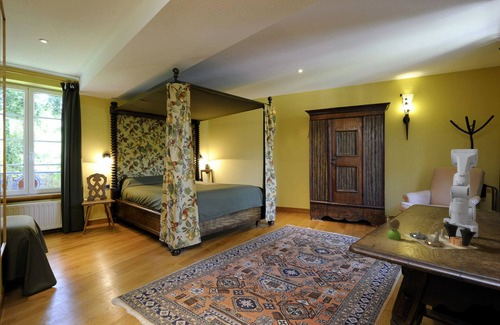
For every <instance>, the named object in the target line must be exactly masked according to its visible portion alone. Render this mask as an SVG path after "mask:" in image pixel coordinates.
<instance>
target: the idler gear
mask: <svg viewBox="0 0 500 325" xmlns="http://www.w3.org/2000/svg"><path fill="white" fill-rule="evenodd" d="M450 243H451V244H453V245H457V246H463V245H462V237H460V236H456V237H450ZM463 247H466V246H463Z"/></svg>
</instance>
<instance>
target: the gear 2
mask: <svg viewBox="0 0 500 325" xmlns="http://www.w3.org/2000/svg"><path fill="white" fill-rule="evenodd" d="M424 243H426V245H430V246H432V247H437V248H439V247H442V248H444V247H445V243H443V242H440V241H438V240H436V243H434V241H432V239H430V240H427V239H426V240H424ZM426 245H425V246H426Z"/></svg>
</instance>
